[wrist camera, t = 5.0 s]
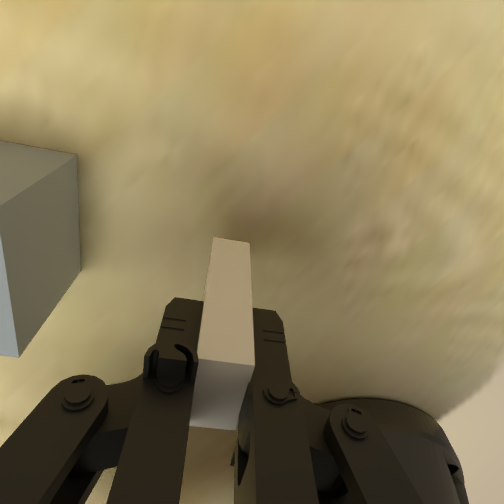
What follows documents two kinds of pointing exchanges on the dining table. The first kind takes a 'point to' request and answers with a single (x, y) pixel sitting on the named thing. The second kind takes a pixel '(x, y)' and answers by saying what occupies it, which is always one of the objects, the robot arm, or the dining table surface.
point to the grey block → (35, 238)
